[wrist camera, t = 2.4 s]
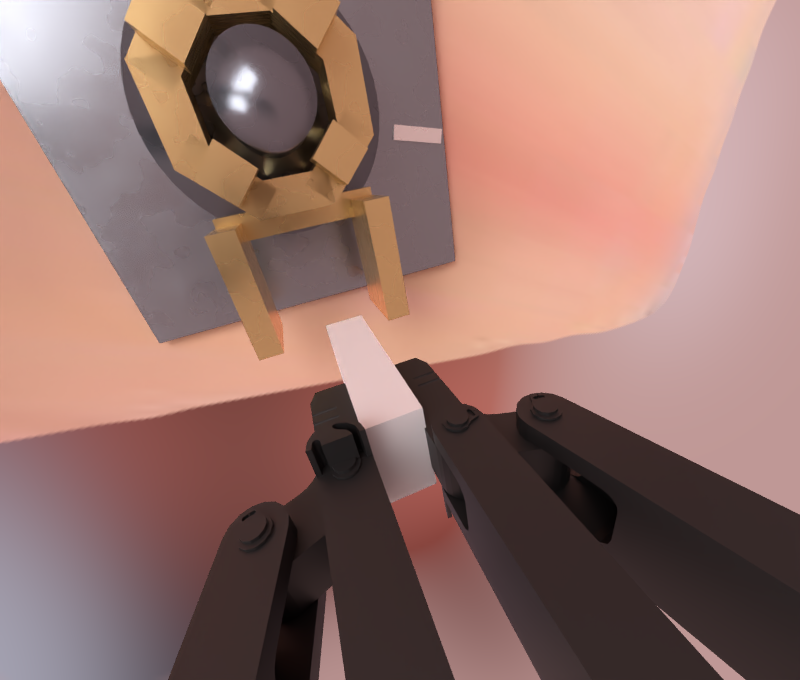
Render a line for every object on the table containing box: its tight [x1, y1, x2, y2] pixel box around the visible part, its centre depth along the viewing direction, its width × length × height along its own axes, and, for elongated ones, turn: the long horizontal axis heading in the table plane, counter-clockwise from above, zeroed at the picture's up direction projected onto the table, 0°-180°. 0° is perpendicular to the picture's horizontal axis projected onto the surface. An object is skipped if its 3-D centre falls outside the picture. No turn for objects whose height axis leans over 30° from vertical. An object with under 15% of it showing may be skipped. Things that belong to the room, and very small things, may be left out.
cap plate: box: [0, 0, 455, 343], centre depth 19 cm, size 26×26×9 cm
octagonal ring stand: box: [124, 0, 409, 361], centre depth 19 cm, size 18×11×5 cm, turn 11°
